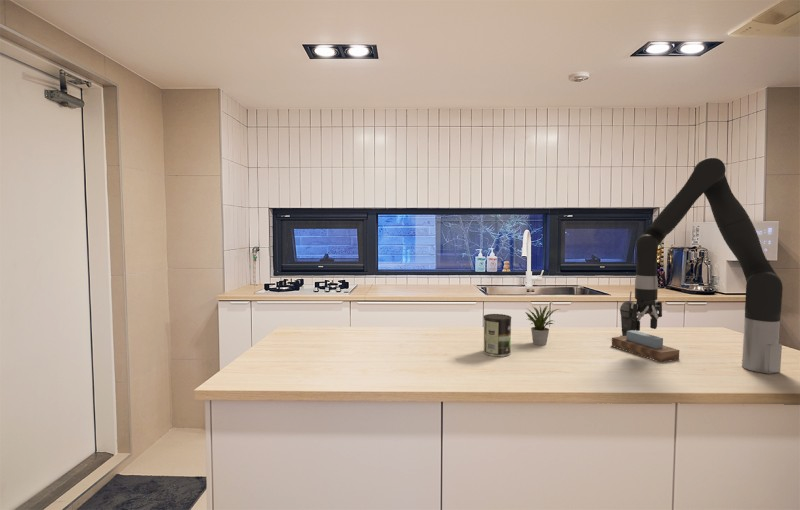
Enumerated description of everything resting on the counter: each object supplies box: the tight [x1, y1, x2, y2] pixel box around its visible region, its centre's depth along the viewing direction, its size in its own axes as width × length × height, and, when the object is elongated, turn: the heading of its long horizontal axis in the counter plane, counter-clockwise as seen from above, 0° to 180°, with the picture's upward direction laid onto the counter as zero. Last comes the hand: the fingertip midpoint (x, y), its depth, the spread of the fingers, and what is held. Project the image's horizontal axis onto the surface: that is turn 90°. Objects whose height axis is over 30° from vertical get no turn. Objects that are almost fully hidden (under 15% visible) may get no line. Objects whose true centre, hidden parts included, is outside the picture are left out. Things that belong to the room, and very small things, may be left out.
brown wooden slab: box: [611, 335, 680, 363], centre depth 168 cm, size 22×9×4 cm, turn 20°
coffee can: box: [482, 313, 512, 358], centre depth 167 cm, size 10×10×14 cm
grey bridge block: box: [626, 330, 664, 348], centre depth 168 cm, size 13×4×6 cm, turn 20°
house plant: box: [525, 304, 560, 346], centre depth 181 cm, size 14×14×16 cm
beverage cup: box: [619, 291, 636, 336], centre depth 191 cm, size 7×7×20 cm
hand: (645, 329), depth 167 cm, fingers open, 8 cm apart
